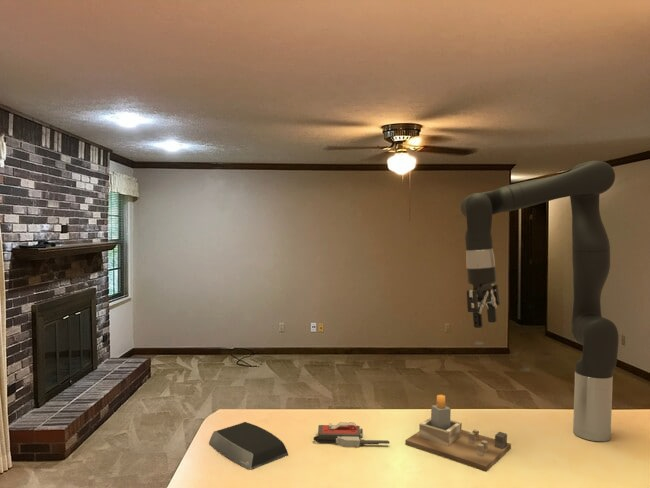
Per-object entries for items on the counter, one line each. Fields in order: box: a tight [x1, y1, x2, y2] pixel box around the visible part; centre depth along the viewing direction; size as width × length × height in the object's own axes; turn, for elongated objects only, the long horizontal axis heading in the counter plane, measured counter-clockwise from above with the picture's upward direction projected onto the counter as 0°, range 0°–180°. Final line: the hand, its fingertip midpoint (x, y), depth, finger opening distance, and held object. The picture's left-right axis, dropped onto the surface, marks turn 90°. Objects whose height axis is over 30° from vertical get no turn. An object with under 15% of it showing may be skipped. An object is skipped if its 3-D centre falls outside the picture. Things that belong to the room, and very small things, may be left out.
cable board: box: [404, 417, 512, 472], centre depth 133 cm, size 16×22×5 cm
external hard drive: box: [208, 421, 289, 471], centre depth 131 cm, size 13×19×4 cm
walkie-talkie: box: [313, 421, 390, 448], centre depth 137 cm, size 9×4×20 cm
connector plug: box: [430, 394, 452, 430], centre depth 136 cm, size 4×4×11 cm
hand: (485, 324), depth 140 cm, fingers open, 8 cm apart
